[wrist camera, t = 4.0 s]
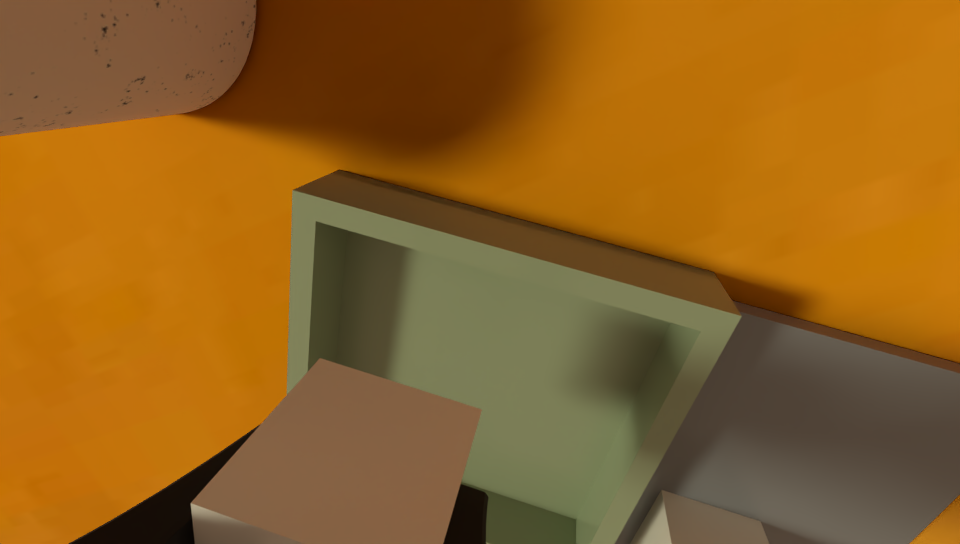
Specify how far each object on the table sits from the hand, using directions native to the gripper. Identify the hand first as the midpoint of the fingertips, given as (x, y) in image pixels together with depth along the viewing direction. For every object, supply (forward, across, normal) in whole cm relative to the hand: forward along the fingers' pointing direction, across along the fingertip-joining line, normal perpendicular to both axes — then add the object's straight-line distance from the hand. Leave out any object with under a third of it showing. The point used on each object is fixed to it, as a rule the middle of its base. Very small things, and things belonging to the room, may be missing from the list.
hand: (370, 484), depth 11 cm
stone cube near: (+1, 0, 0) cm, 1 cm away
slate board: (+8, -14, +4) cm, 17 cm away
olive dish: (+8, -1, +2) cm, 9 cm away
